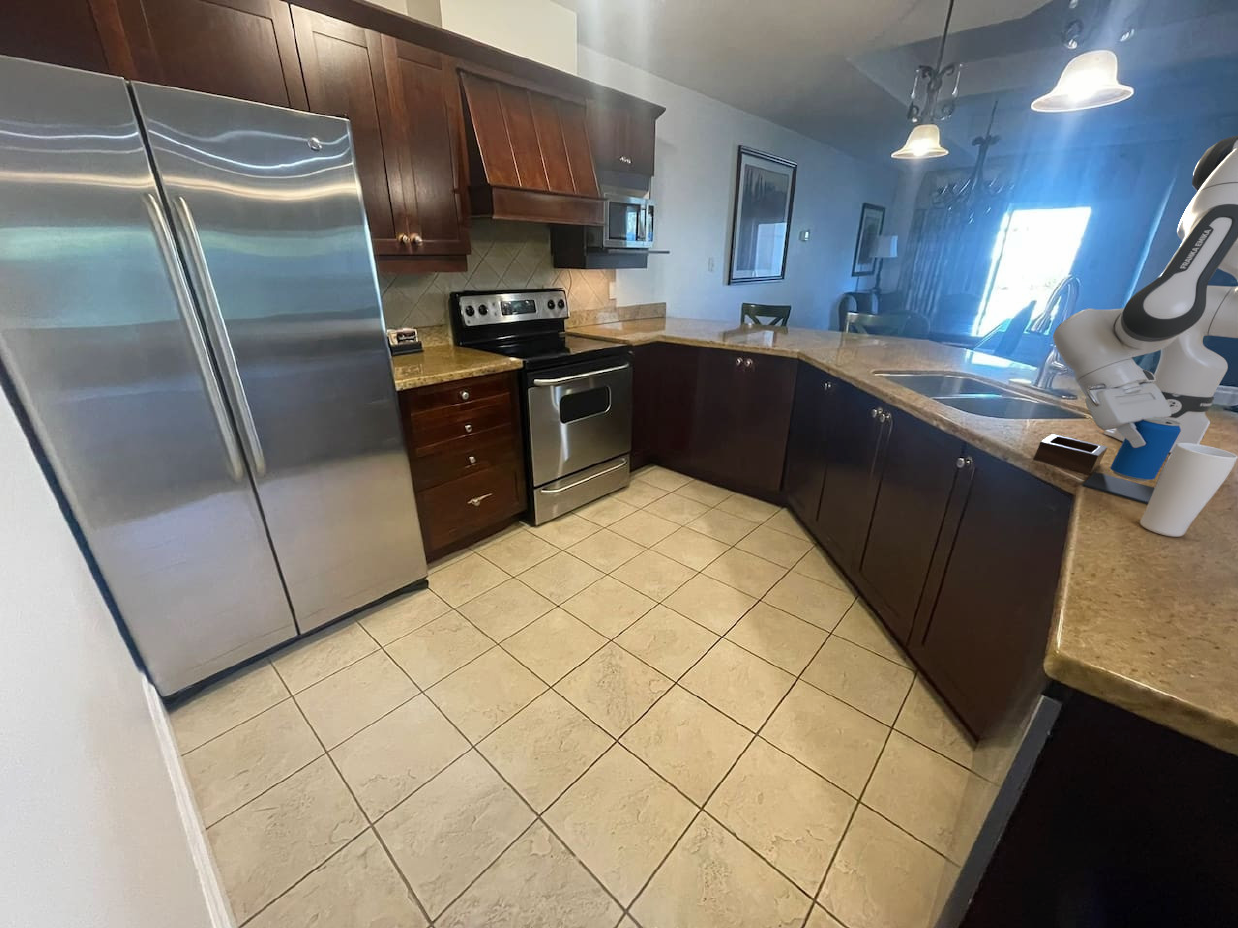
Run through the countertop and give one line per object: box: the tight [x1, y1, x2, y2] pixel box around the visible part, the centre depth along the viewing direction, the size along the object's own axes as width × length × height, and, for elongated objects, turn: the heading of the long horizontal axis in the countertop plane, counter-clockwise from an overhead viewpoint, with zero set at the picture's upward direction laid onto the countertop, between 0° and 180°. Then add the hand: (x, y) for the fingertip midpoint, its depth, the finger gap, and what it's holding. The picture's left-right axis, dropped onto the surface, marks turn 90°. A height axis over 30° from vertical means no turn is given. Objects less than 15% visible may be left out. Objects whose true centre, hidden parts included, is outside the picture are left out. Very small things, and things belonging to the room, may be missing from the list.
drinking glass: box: [1139, 443, 1238, 538], centre depth 79 cm, size 7×7×15 cm
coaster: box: [1081, 471, 1155, 505], centre depth 97 cm, size 11×11×1 cm
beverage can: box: [1109, 417, 1181, 483], centre depth 93 cm, size 6×6×12 cm
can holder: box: [1032, 433, 1108, 475], centre depth 109 cm, size 10×10×4 cm
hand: (1152, 444), depth 92 cm, fingers closed on beverage can, 6 cm apart
